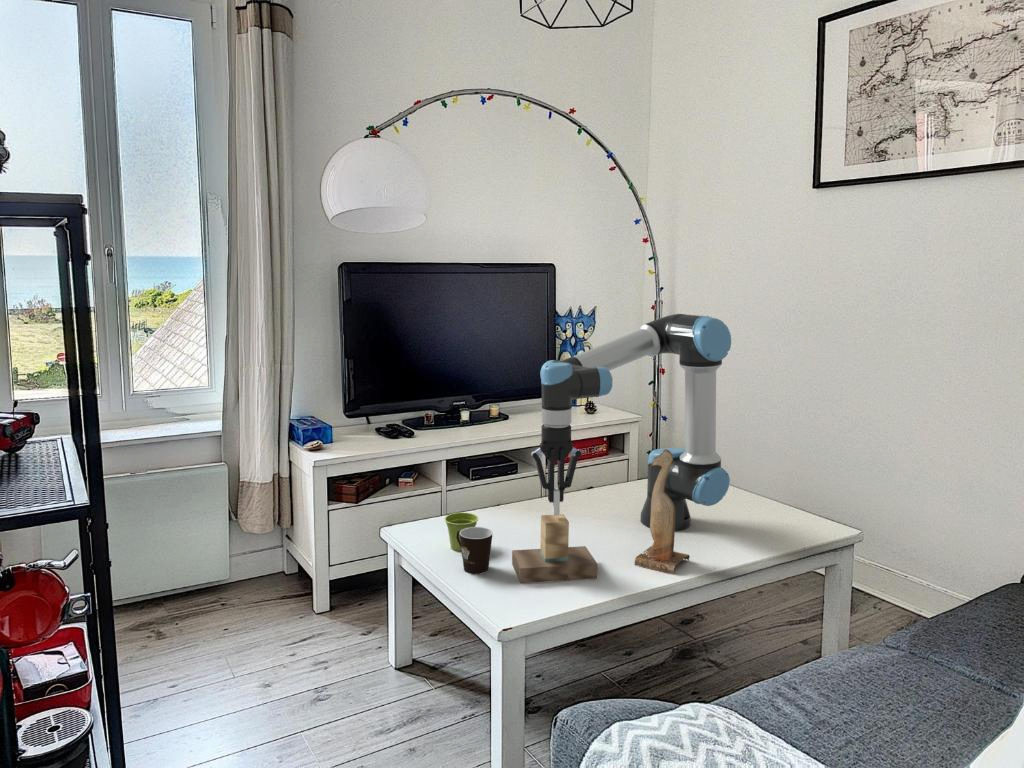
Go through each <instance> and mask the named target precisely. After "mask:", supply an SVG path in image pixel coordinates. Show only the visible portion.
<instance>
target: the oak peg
mask: <svg viewBox="0 0 1024 768" xmlns="http://www.w3.org/2000/svg"><path fill="white" fill-rule="evenodd" d="M569 531H570V522H569V520H568V518H567V517H566V515H565V514H564V513H562V514H561V513H560V515H558V516H554V515H553V514H542V515H540V549H541V550H540V554H541V555H542V557H543V559H544V561H545V562H556V561H568V547H569V539H570V538H569V537H570V535H569V533H570V532H569Z"/></svg>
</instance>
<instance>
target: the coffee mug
mask: <svg viewBox="0 0 1024 768" xmlns="http://www.w3.org/2000/svg"><path fill="white" fill-rule="evenodd" d="M459 534H460V540H459ZM493 535H494V533H493V530H491V529H489V528H487V527H483V526H475V527H470V528H465V529H463V530H461V531H458V532H457V535H456V537H457V541H458V543H459V545H460V547H461V550H462V551H461V557H462V564H463V565H462V566H463V571H464V572H466V574H467V573H468V574H471V575H482V574H484V573H487V572H488V571H489V568H490V567H489V566H490V558H491V557H490V556H491V551H492V540H493Z"/></svg>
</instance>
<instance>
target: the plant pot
mask: <svg viewBox="0 0 1024 768" xmlns="http://www.w3.org/2000/svg"><path fill="white" fill-rule="evenodd" d="M478 521H479V516H478V515H477V514H475V513H472V512H453V513H450V514H448V515H446V516H445V517H444V522H445V524H446V526H447V530H448V531H447V533H448V536H449V538H448V539H449V544H450V549H452V550H453V551H457V552H462V550H461V547H460V545H459V543H458V541H457V537H456V535H457V532H458V531H461V530H463V529H465V528H470V527H477V522H478ZM459 540H460V534H459Z"/></svg>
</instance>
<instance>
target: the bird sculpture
mask: <svg viewBox="0 0 1024 768" xmlns="http://www.w3.org/2000/svg"><path fill="white" fill-rule="evenodd" d="M672 462H673V455H672V453H671V452H670V451H669V450H667V449H664V451H663V452H662V453H661V454H660V455H658V456H656V457H654V458H653V461H652V467H660V468H661V470H660V472H659V475H658V477H657V480H656V482H655V485H654V488H653V492H652V499H651V520H650V527H649V531H650V534H651V535H650V536H651V537H652V540H653V543H652V545H651V546H649V547H648V548H647V549H645V550H644V551H643V552H641V553H640V554H638V555H636V556H635V558H634V566H635V567H636V566H638V567H642V568H646V569H648V570H653V571H659V572H662V573H664V574H665V573H666V574H670V575H674V572H675V569H676V566H677V565H678V564H679V563H680V562H681V561H683V560H685V561H686V560H687V561H689V562H690V554H687V553H683V552H679V551H675V549H674V548H675V535H676V534H675V533H676V530H675V515H676V511H675V506H674V504H673V502H672V500H671V499H670V497H669V496H668V495H667V494H666V493H665V492H664V488H665V483H666V478H667V475H668V472H669V469H670V466H671V464H672Z"/></svg>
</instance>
